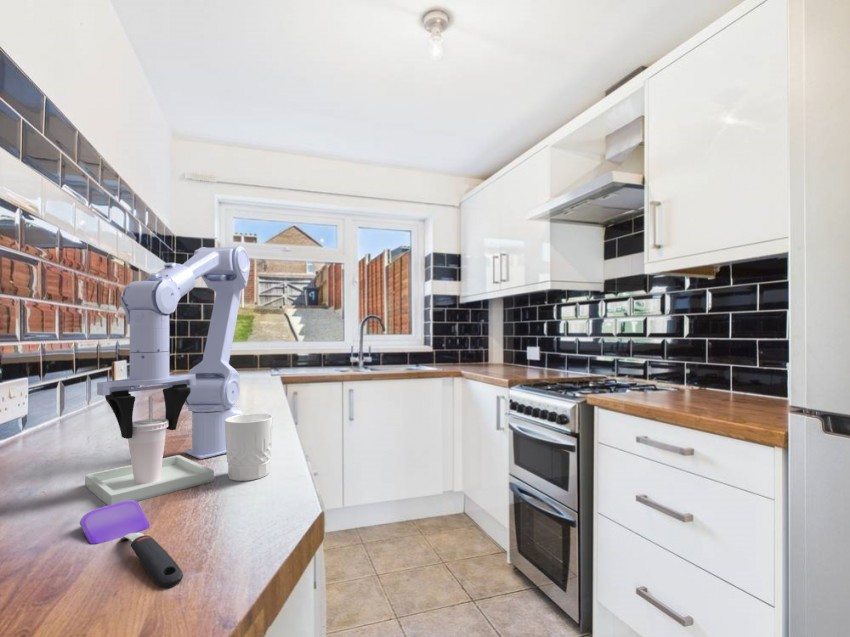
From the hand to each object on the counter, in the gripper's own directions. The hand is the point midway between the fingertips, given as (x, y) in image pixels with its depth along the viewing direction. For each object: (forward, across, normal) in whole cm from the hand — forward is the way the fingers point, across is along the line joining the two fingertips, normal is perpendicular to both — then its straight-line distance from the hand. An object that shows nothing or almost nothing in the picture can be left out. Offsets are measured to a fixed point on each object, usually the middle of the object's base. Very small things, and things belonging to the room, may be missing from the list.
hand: (149, 433), depth 75 cm
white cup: (+8, -12, +10) cm, 18 cm away
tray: (+8, 0, 0) cm, 8 cm away
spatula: (+9, +12, +22) cm, 27 cm away
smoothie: (+8, 0, -1) cm, 8 cm away
